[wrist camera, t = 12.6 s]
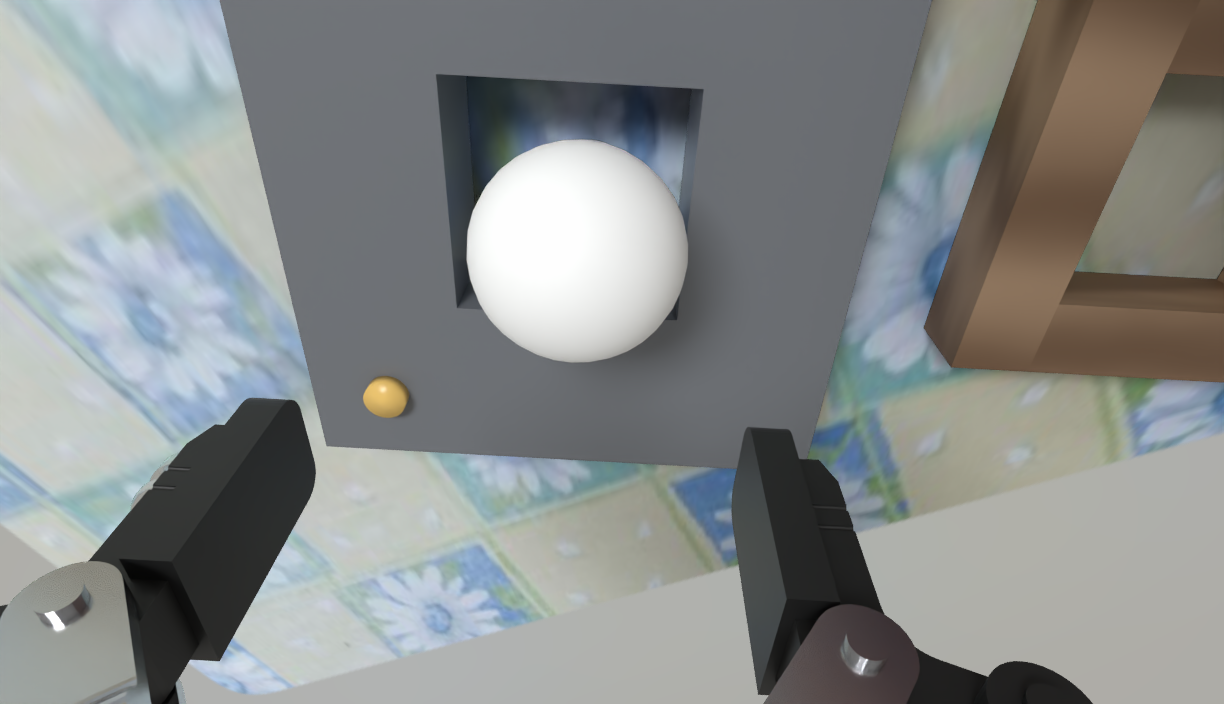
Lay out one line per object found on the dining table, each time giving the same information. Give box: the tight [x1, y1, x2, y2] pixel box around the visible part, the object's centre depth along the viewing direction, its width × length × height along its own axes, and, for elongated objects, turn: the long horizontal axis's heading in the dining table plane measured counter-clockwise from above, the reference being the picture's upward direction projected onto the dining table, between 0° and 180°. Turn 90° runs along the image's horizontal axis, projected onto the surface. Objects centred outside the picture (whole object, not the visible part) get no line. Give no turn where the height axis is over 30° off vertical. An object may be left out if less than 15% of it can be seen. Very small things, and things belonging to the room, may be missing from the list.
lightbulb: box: [467, 139, 688, 363], centre depth 21 cm, size 6×6×11 cm
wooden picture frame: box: [924, 0, 1224, 382], centre depth 24 cm, size 14×14×3 cm
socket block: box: [220, 0, 932, 469], centre depth 24 cm, size 22×20×5 cm
